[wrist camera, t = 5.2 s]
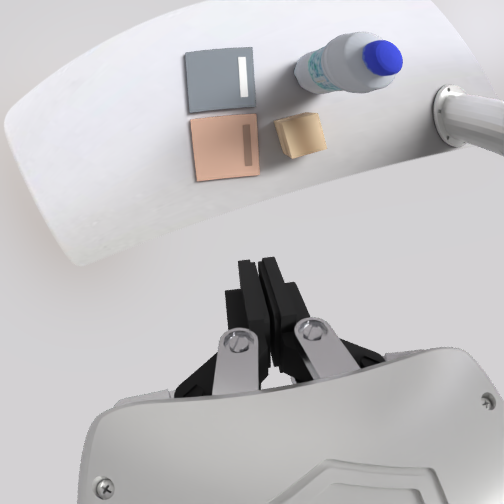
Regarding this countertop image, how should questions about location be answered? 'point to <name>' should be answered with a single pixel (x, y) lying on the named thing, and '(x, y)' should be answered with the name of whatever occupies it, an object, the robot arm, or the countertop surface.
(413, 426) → the robot arm
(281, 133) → the oak block
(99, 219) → the countertop surface
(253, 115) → the terracotta tile
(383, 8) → the countertop surface
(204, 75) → the slate mat
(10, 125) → the countertop surface
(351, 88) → the bottle
